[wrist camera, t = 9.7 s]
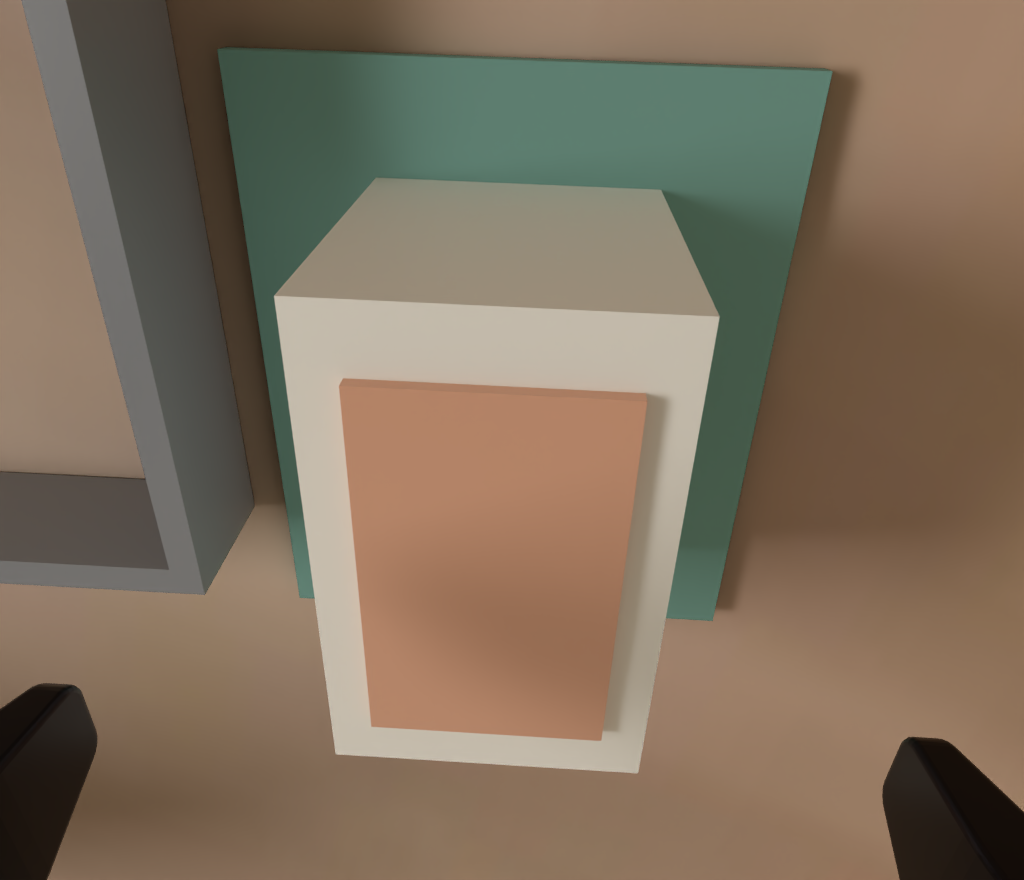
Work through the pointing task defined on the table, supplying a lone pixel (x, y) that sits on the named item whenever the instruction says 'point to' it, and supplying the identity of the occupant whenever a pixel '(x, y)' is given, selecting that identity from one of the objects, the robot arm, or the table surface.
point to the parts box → (495, 463)
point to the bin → (135, 320)
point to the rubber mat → (545, 161)
